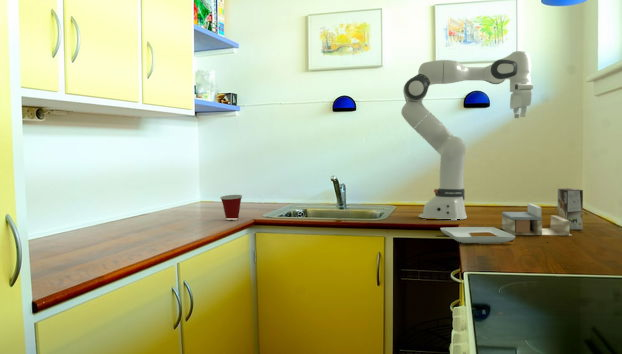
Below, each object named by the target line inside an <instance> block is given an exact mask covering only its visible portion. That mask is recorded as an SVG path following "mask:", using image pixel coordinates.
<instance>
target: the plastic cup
mask: <svg viewBox="0 0 622 354" xmlns="http://www.w3.org/2000/svg"><path fill="white" fill-rule="evenodd" d="M219 198H220V200H221V203H222V206H223V212H224V215H225V219H226V218H238V219H239V217H240V210H241V209H240V208H241V202H242V198H243V195H242V194H228V195H224V196H220V197H219Z"/></svg>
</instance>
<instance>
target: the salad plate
mask: <svg viewBox="0 0 622 354" xmlns="http://www.w3.org/2000/svg"><path fill="white" fill-rule="evenodd" d="M439 229H440V231H441V232H442V233H443V234H444V235H446V236H448V237H450V238H451V239H453V240H454V241H456V242H458V243H460V242H461V244H465V243H479V244H503V243H508V242H511V241H514V239H516V235H511V234H509V233H508V232H506V231H505V230H503V229H502V230H501V229H499V228H496V227H493V226H460V227H459V226H456V227H454V226H453V227H440V228H439ZM471 233H491V234H492V235H495V236H492V235H491V236H487V235H486V236H485V235H483V236H481V235H480V236H473V235H472V234H471Z"/></svg>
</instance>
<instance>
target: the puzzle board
mask: <svg viewBox="0 0 622 354" xmlns="http://www.w3.org/2000/svg"><path fill="white" fill-rule="evenodd" d="M569 225H570V221H569V220H566V219H564V218H561V217H559V216H558V215H554V214H553V215H550V228H543V219H542V220H530V233H520V232H515V220H511V219H509V218H507V217H506V216H504V215H502V214H501V229H502V230H503V231H505V232H507V233H509V234H511V235H514V236H516V235H522V236H523V235H524V236H525V235H526V236H529V235H530V236H572V234H570V229H569Z"/></svg>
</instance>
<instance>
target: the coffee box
mask: <svg viewBox="0 0 622 354" xmlns="http://www.w3.org/2000/svg"><path fill="white" fill-rule="evenodd" d="M583 198H584V190H583V189H577V188H557V216H559V217H561V218H564V219H566V220H569V221H570V225H569V230H583V219H584V218H583V215H584V213H583V211H584V205H583V204H584V199H583Z"/></svg>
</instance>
